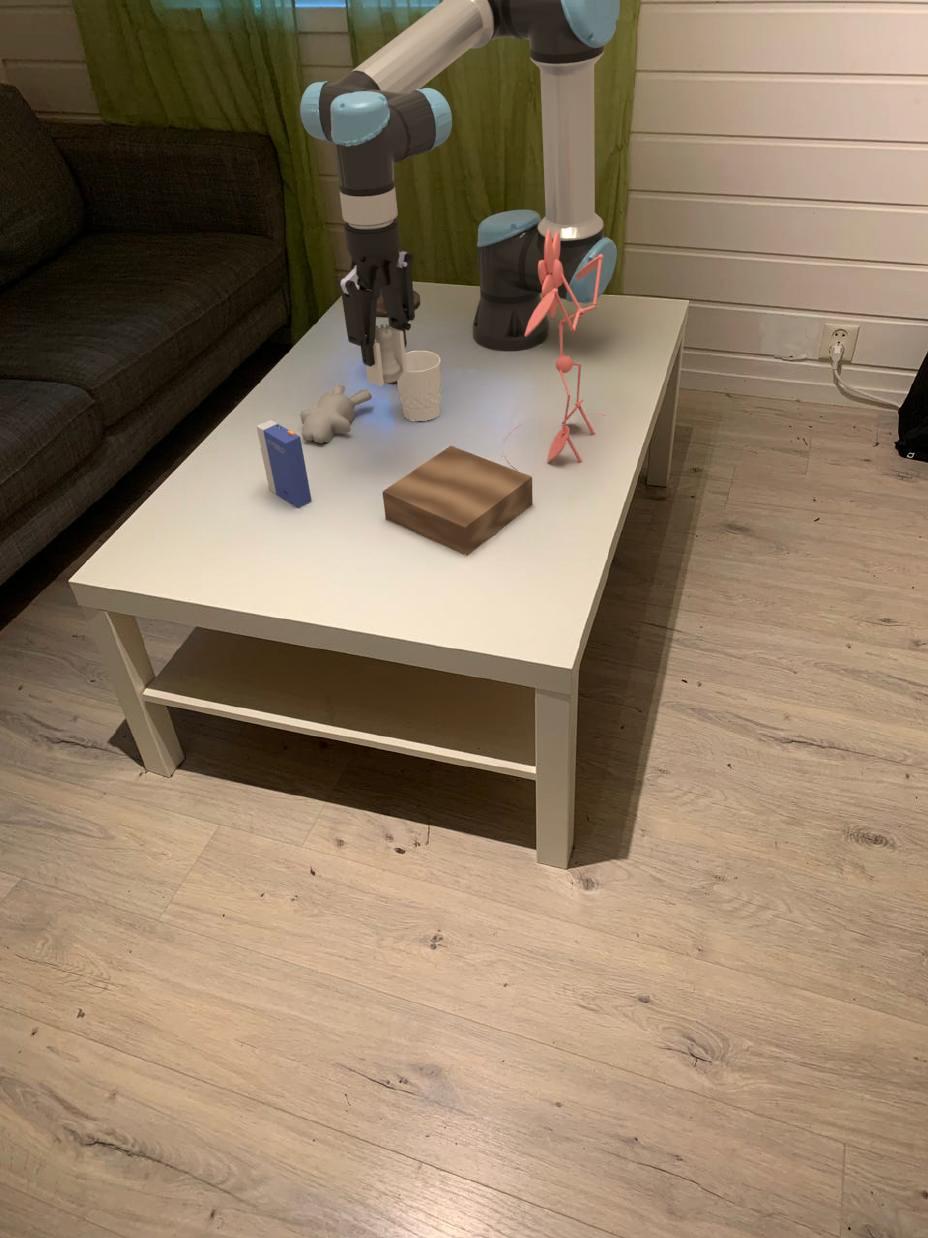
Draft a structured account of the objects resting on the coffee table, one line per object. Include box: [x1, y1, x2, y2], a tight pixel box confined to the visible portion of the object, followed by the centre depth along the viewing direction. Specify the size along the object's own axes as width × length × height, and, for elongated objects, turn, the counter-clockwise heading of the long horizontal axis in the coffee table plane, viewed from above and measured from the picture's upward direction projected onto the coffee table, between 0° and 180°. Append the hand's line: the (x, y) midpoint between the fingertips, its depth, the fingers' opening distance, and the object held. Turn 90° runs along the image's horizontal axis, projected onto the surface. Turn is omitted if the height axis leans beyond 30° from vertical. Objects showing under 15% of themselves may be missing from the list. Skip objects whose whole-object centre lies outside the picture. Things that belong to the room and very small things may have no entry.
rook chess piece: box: [375, 323, 402, 385], centre depth 150 cm, size 4×4×8 cm
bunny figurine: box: [299, 383, 373, 444], centre depth 175 cm, size 10×5×15 cm
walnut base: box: [382, 445, 533, 556], centre depth 152 cm, size 16×16×5 cm
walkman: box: [256, 419, 312, 509], centre depth 156 cm, size 8×3×12 cm, turn 44°
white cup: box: [397, 350, 442, 422], centre depth 175 cm, size 8×8×10 cm
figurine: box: [500, 229, 607, 471], centre depth 157 cm, size 15×26×35 cm, turn 162°
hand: (387, 375), depth 153 cm, fingers closed on rook chess piece, 4 cm apart
